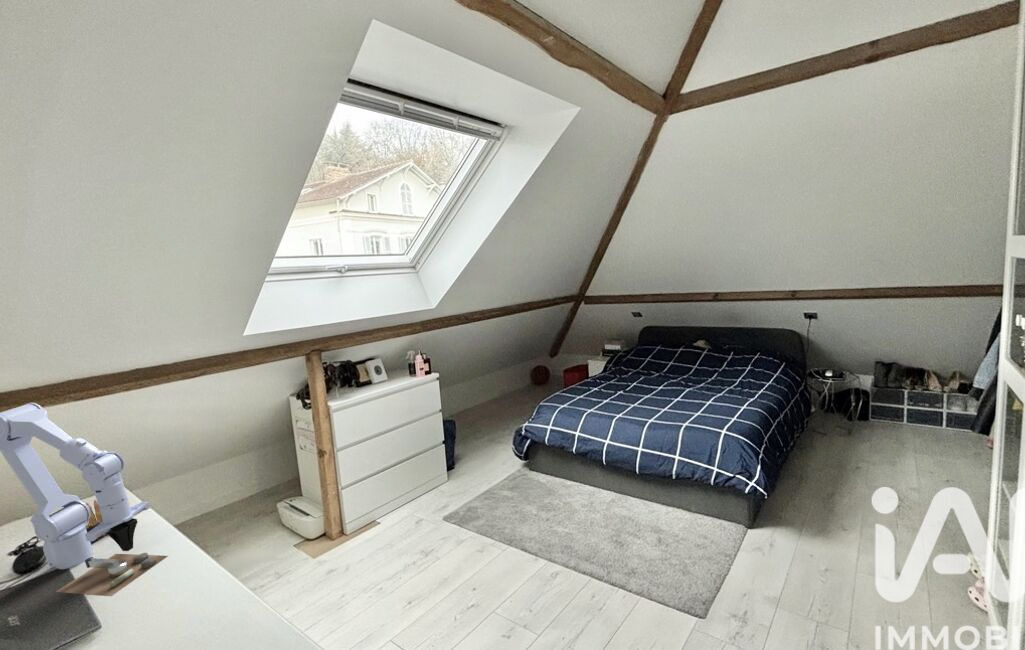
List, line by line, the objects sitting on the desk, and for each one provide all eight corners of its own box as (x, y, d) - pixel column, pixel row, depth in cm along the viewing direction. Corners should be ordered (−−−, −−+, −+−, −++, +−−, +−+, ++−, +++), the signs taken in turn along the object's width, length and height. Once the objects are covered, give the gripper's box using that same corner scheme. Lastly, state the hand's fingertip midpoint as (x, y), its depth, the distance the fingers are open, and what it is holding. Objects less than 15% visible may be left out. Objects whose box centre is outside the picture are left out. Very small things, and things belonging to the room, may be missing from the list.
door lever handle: (82, 576, 119) (78, 563, 118) (98, 566, 122) (94, 554, 122) (117, 578, 116) (113, 565, 115) (132, 568, 119) (128, 555, 119)
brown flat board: (56, 596, 115) (53, 586, 114) (117, 557, 128) (114, 548, 127) (112, 600, 110) (109, 590, 109) (169, 560, 123) (166, 550, 123)
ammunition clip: (87, 547, 136) (74, 508, 134) (86, 544, 137) (73, 506, 135) (133, 527, 144) (122, 490, 142) (132, 525, 145) (121, 488, 143)
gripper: (94, 517, 115) (110, 568, 117) (152, 486, 129) (165, 532, 131) (72, 517, 117) (89, 567, 119) (132, 486, 130) (145, 532, 133)
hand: (127, 549), depth 125 cm, fingers closed
